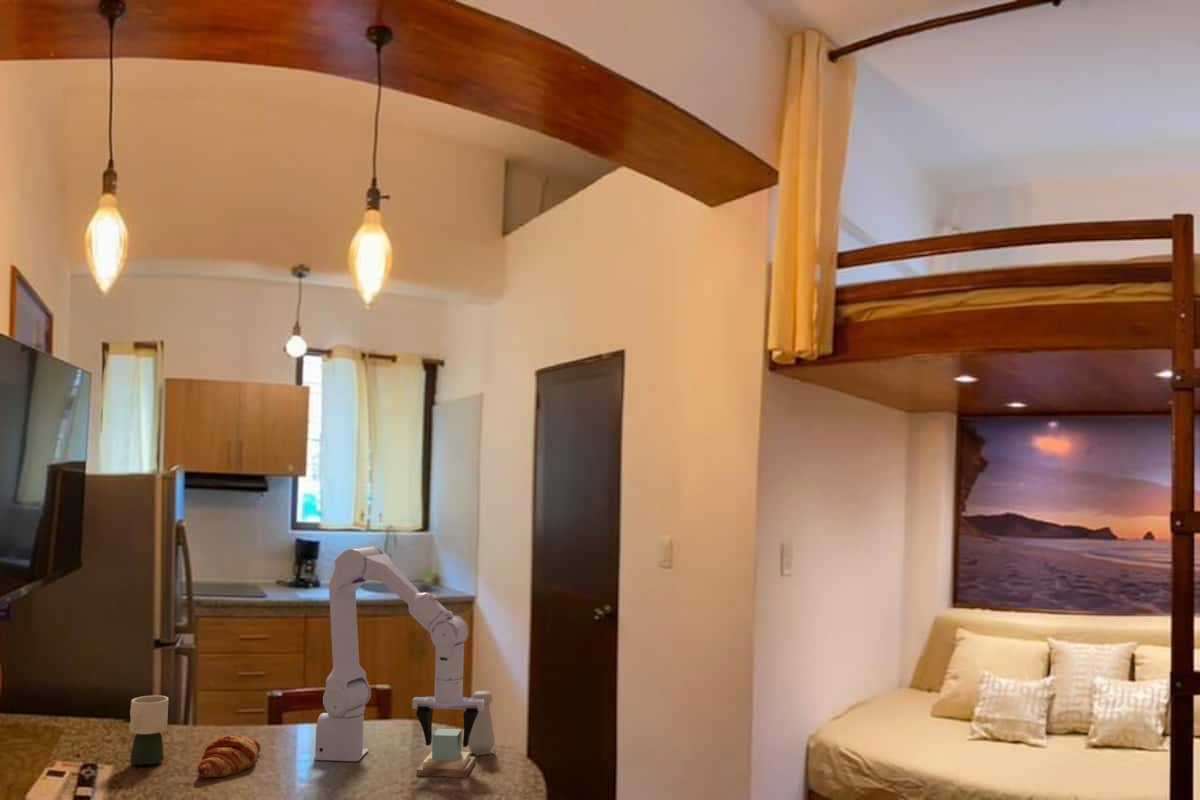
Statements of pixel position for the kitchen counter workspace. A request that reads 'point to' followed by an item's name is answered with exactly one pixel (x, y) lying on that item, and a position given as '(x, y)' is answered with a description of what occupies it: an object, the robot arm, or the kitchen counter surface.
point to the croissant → (229, 756)
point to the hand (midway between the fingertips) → (447, 744)
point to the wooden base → (446, 766)
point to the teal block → (446, 744)
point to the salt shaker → (482, 727)
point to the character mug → (148, 728)
